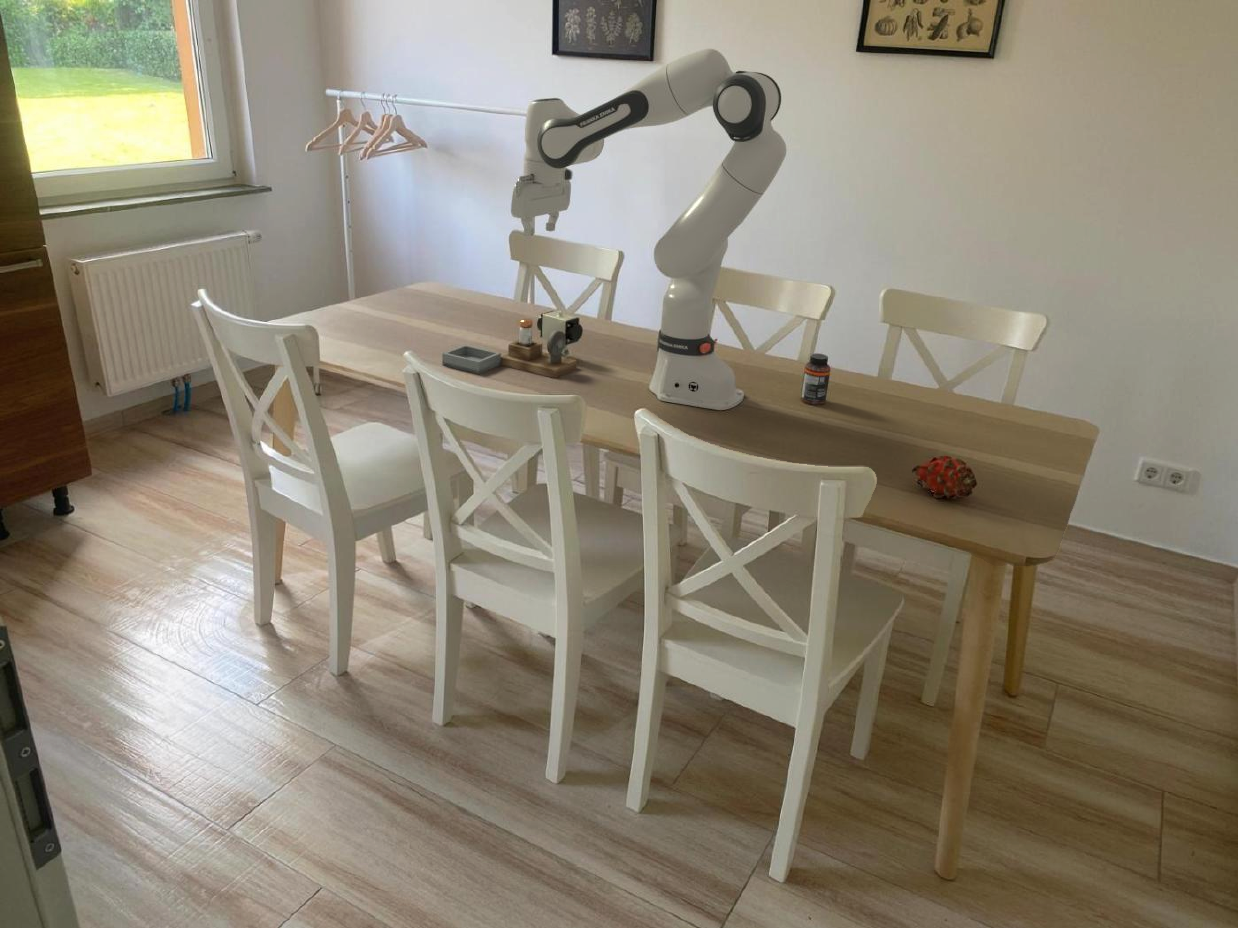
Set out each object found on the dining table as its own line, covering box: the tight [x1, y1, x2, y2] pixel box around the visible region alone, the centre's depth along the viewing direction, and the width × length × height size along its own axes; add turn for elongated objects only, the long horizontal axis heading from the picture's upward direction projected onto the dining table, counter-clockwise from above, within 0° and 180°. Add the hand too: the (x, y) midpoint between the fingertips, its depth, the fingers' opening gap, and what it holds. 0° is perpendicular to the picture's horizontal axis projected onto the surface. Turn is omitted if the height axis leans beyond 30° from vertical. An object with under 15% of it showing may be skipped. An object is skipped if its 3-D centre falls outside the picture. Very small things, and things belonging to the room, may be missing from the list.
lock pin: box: [518, 318, 533, 347], centre depth 224 cm, size 3×3×9 cm
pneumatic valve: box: [536, 310, 583, 358], centre depth 231 cm, size 6×12×12 cm, turn 53°
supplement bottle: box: [800, 353, 831, 406], centre depth 212 cm, size 6×6×11 cm
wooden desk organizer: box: [500, 330, 578, 379], centre depth 223 cm, size 16×10×10 cm, turn 62°
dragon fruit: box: [911, 454, 978, 500], centre depth 170 cm, size 8×8×12 cm
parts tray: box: [441, 344, 502, 375], centre depth 223 cm, size 11×9×3 cm
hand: (539, 233), depth 214 cm, fingers open, 8 cm apart
